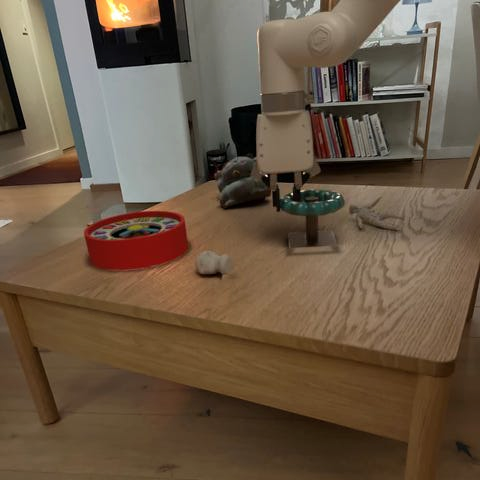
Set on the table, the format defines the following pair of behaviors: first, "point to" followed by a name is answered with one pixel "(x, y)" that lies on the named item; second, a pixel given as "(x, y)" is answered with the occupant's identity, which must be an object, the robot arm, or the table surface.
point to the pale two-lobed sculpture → (214, 263)
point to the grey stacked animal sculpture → (240, 182)
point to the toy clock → (136, 240)
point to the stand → (311, 233)
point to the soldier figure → (373, 215)
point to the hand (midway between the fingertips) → (286, 208)
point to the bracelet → (312, 203)
